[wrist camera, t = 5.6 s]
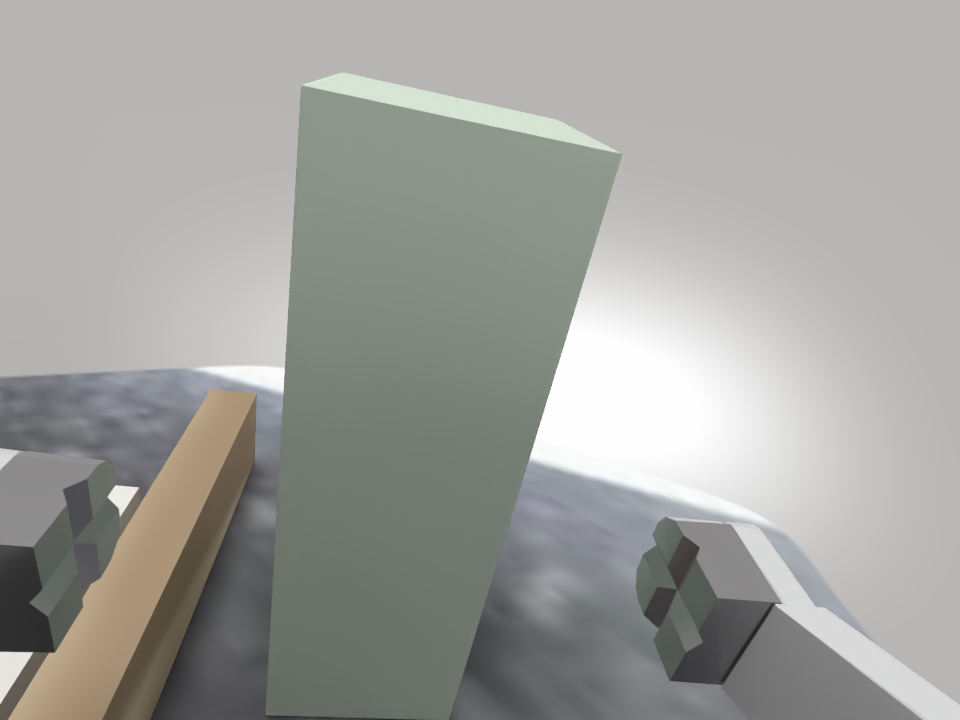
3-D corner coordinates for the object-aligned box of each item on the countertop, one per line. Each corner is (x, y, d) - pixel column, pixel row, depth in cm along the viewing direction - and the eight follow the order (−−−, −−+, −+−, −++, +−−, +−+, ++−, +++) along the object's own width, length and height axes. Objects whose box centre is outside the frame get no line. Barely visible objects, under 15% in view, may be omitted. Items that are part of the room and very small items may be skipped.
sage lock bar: (265, 715, 14) (301, 85, 7) (299, 567, 18) (342, 72, 11) (449, 720, 15) (622, 154, 8) (442, 577, 19) (557, 120, 12)
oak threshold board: (-128, 1124, 8) (-199, 1055, 7) (212, 457, 21) (211, 388, 20) (-8, 1113, 8) (-53, 1044, 7) (254, 461, 21) (256, 393, 20)
